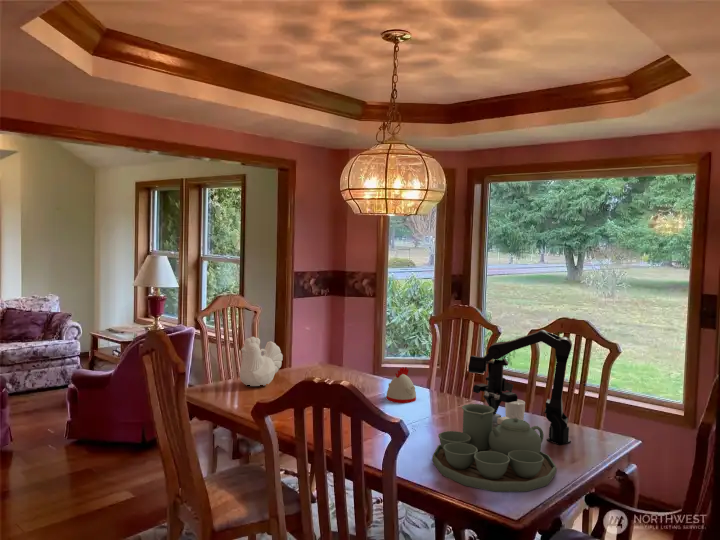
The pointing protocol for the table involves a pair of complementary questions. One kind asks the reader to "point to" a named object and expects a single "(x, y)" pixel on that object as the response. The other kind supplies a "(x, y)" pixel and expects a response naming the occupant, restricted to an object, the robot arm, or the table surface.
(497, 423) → the white key
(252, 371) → the decorative rooster
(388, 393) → the chicken tea cozy
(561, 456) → the table surface
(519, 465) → the tea set
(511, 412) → the white cup
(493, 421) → the slate blue key
